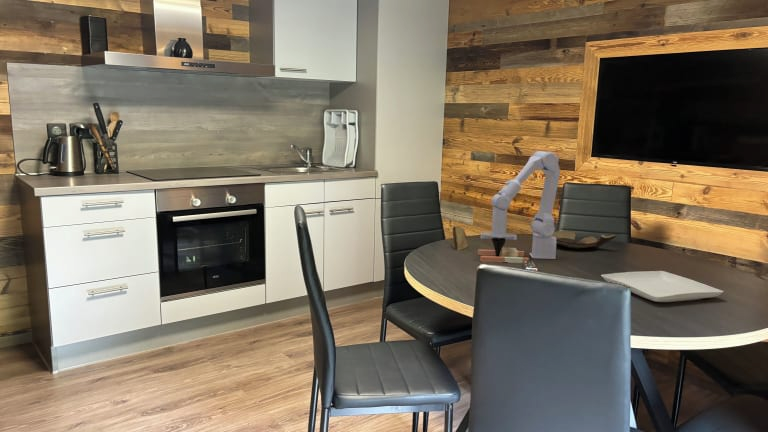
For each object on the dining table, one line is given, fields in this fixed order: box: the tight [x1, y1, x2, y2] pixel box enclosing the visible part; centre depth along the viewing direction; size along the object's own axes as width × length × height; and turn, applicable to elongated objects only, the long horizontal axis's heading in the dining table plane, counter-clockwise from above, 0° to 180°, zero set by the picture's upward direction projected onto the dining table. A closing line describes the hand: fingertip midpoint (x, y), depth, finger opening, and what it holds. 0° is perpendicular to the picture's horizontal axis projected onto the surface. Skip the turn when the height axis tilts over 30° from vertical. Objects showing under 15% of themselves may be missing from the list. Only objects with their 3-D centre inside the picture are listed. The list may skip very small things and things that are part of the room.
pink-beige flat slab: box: [477, 249, 530, 264], centre depth 231 cm, size 19×13×2 cm
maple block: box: [500, 247, 518, 257], centre depth 230 cm, size 6×6×4 cm
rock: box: [452, 225, 470, 251], centre depth 249 cm, size 11×9×10 cm
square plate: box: [600, 270, 725, 303], centre depth 190 cm, size 27×27×4 cm
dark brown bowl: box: [551, 230, 617, 249], centre depth 254 cm, size 22×30×8 cm
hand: (497, 256), depth 231 cm, fingers closed
